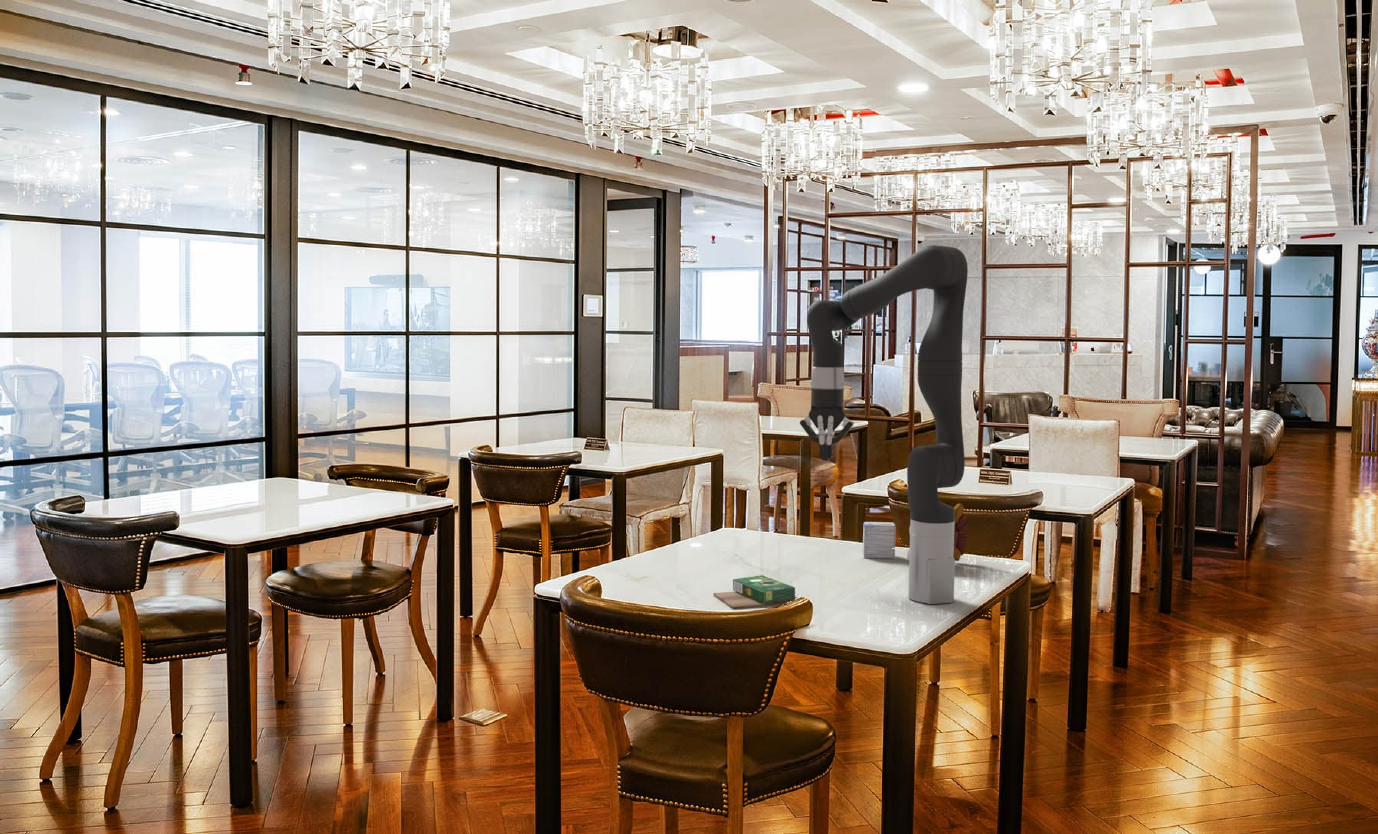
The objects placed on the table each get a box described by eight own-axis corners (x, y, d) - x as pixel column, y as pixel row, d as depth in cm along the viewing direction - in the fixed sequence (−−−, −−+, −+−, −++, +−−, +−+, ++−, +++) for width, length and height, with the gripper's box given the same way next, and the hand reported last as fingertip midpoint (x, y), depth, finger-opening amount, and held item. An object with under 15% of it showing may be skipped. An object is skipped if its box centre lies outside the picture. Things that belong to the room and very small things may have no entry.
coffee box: (731, 591, 237) (764, 605, 225) (731, 578, 236) (764, 591, 225) (762, 587, 240) (796, 600, 229) (762, 574, 240) (796, 586, 229)
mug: (897, 562, 271) (899, 502, 269) (953, 558, 276) (955, 499, 275) (921, 571, 260) (923, 509, 259) (979, 567, 266) (981, 506, 265)
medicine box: (893, 555, 278) (894, 522, 278) (895, 559, 274) (896, 525, 273) (862, 554, 279) (863, 521, 279) (863, 558, 275) (864, 524, 274)
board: (804, 603, 228) (804, 601, 228) (732, 609, 223) (732, 606, 223) (781, 590, 240) (781, 588, 240) (713, 595, 235) (713, 593, 235)
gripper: (858, 386, 255) (856, 460, 256) (802, 385, 258) (801, 457, 260) (853, 388, 247) (851, 463, 249) (796, 386, 251) (795, 461, 253)
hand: (825, 460), depth 254 cm, fingers closed
